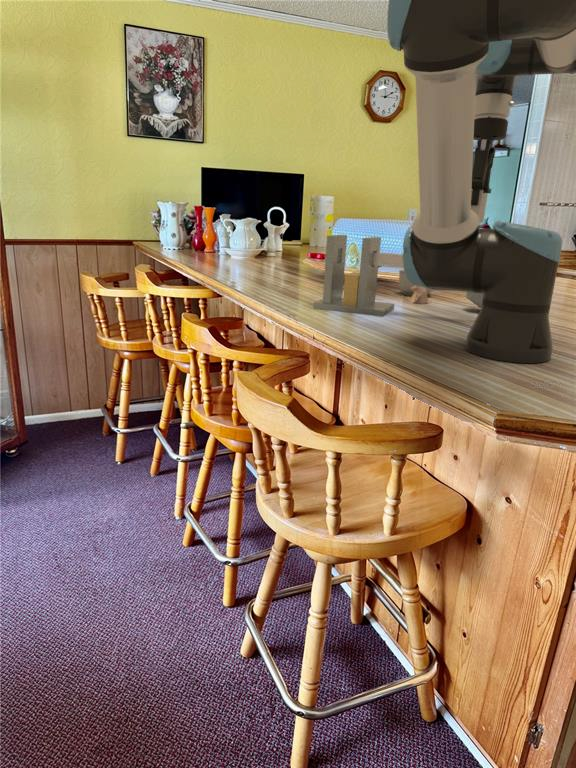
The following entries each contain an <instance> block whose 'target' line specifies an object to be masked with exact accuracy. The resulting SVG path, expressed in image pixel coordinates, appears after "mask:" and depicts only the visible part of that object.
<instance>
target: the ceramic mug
mask: <svg viewBox="0 0 576 768" xmlns="http://www.w3.org/2000/svg"><path fill="white" fill-rule="evenodd" d="M464 297H465V298H466V299H468V300H469V301H470V302H472V303H473V304H474V305H476V306H477V307H478V308H480V309H481V307H482V301H483V294H482V293H473V292H465V296H464Z"/></svg>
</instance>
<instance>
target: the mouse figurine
mask: <svg viewBox="0 0 576 768" xmlns="http://www.w3.org/2000/svg"><path fill="white" fill-rule="evenodd" d="M411 290H412V291H414V293H413V295H412V296H410V297H411V298H410V299H409V300H408V303H409V304H415V305H416V304H417V305H426V304H429V303H430V304H435V302H434V301H429V300H428V295H427V291H426V289H425V288H424V287H421V286H414V287H411Z"/></svg>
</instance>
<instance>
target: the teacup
mask: <svg viewBox="0 0 576 768" xmlns="http://www.w3.org/2000/svg"><path fill="white" fill-rule="evenodd" d="M398 271H399V274H398V275H399V277H398V283H399V284H398V286H399V287H398V288H399V290H400V292H402V293H403V294H404V295H405V296H409V297H412V295H413V293H414V291H412V290H411V287H414V286H416V285H413V284H412V283H411V282H410V281H409V280H408V279H407V277H406V274H405V271H404V268H399V270H398ZM424 288H425V289H426V291H427V296H428V294H430V293H431V292H433V290H434V289H430V288H426V287H424Z"/></svg>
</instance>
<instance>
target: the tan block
mask: <svg viewBox="0 0 576 768" xmlns="http://www.w3.org/2000/svg"><path fill="white" fill-rule="evenodd" d="M359 276H360V272H358V271H356V272H355V271H353V272H349V273H347V274H344V282H343V295H342V298H343V304H344V305H353V306H357V299H358V287H359Z"/></svg>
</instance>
